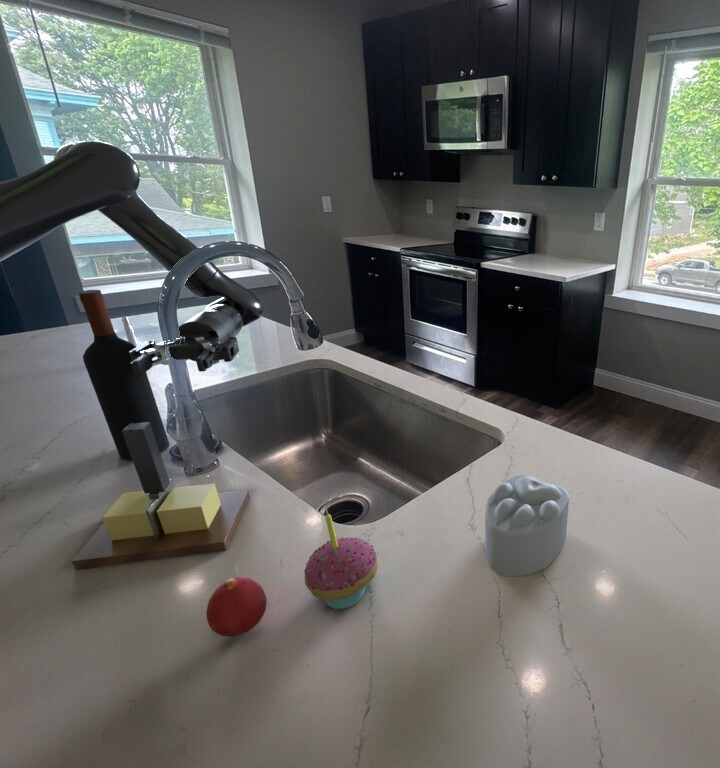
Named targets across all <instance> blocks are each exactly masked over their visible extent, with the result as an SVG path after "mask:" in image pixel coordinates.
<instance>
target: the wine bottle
mask: <svg viewBox="0 0 720 768" xmlns="http://www.w3.org/2000/svg"><path fill="white" fill-rule="evenodd" d="M78 296H79V299H80V303H81V304H82V306H83V310H84V312H85V314H86V318H87V320H88V324H89V326H90V328H91V331H92V334H93V342H92V343H91V344H89V346H87V348H86V349H85V350H84V353H83V355H82V360H83V364H84V366H85V368H86V371H87V375H88V376H89V379H90V382H91V384H92V387H93V391H94V392H95V395H96V398H97V400H98V402H99V406H100V409H101V410H102V414H103V416H104V420H105V421H106V424H107V427H108V429H109V432H110V435H111V437H112V440H113V443H114V445H115V448H116V450H117V453H118V456H119V457H120V459H121V460H124V461H128V462H129V461H130V462H133V460H132V458H131V455H130V452H129V449H128V447H127V444H126V441H125V438H124V436H123V433H122V430H123V429H124V428H125V427H127V426H128V425H129V424H132V423H146V422H150V425H151V428H152V431H153V434H154V437H155V440H156V443H157V446H158V449H159V452H160V454H161V453H163V452H164V451H166V450H167V449H168V447H169V446H170V441H169V438H168V435H167V433H166V429H165V426H164V423H163V420H162V416H161V414H160V410H159V407H158V404H157V401H156V398H155V395H154V392H153V389H152V386H151V383H150V380H149V376H148V373H147V371H146V372H145V373H144V374H143V375H136V374H135V372H133V369H132V366H131V362H132V359H131V355H130V352H129V351H131V350H132V349H134V348H136V346H135V345H133V344H132V343H131V342H129V341H128V340H127V339H123V338H121V337H120V336H119V337H118V335H117V333H116V332H115V331H116V330H115V329H114V325H113V323H112V320H111V317H110V314H109V311H108V309H107V305H106V301H105V298H104V295H103V293H102V290H101V289H87V290H81V291H78Z"/></svg>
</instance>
